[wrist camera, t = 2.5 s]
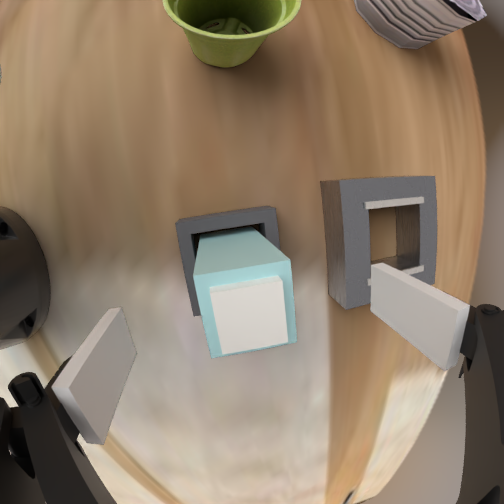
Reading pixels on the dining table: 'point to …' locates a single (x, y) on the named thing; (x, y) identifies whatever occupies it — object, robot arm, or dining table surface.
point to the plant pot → (229, 26)
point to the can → (418, 19)
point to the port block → (358, 232)
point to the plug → (244, 292)
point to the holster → (215, 222)
